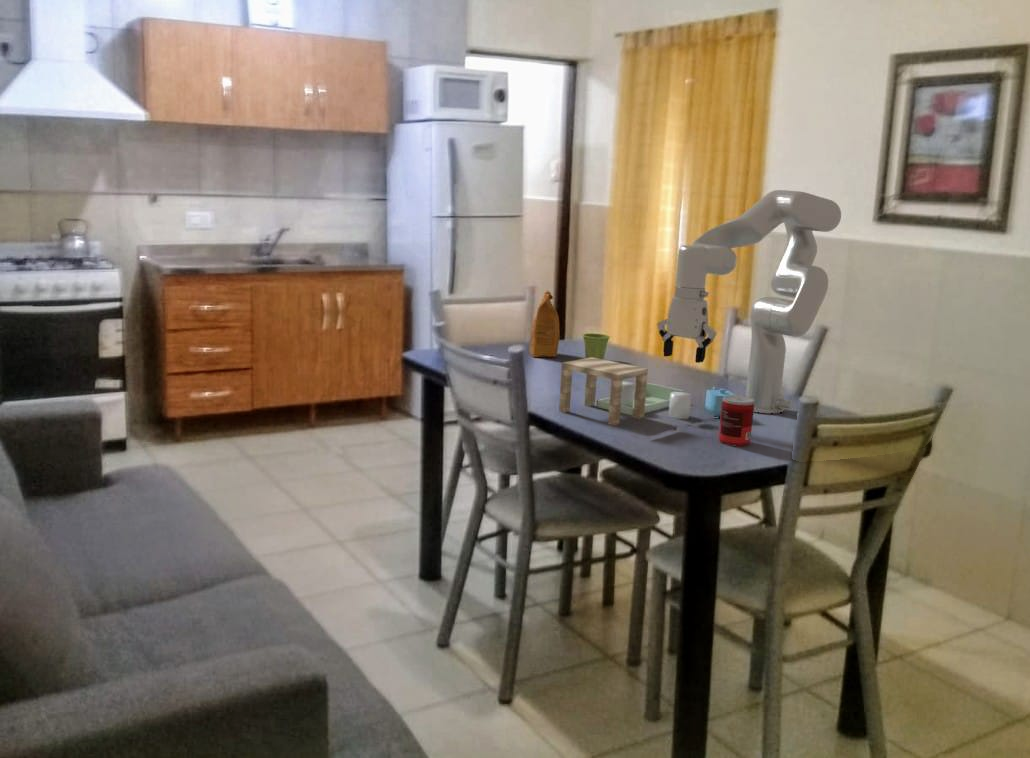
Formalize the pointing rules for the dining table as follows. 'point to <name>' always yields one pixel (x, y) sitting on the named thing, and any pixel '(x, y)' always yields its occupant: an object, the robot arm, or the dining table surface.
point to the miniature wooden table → (616, 374)
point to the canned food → (736, 420)
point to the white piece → (679, 405)
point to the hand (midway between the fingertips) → (683, 358)
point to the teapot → (715, 400)
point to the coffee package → (545, 329)
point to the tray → (646, 399)
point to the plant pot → (595, 345)
